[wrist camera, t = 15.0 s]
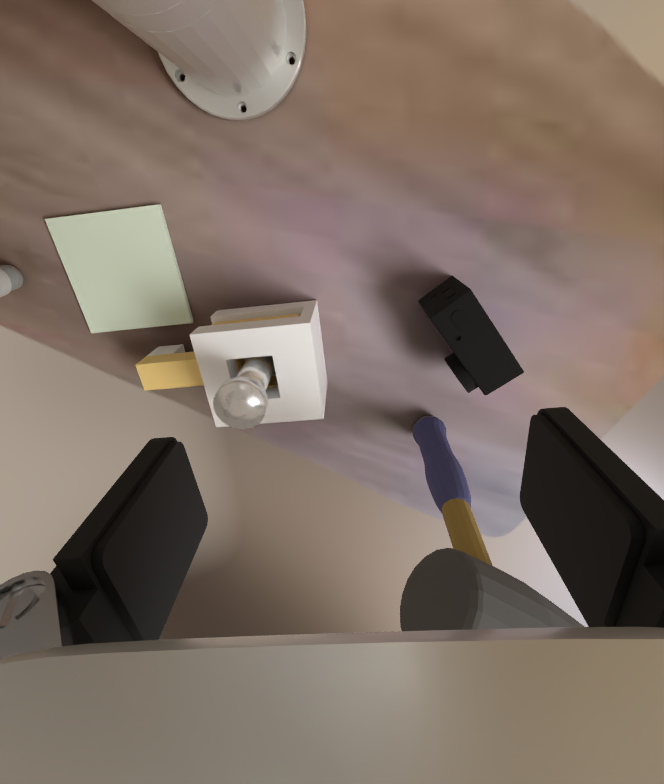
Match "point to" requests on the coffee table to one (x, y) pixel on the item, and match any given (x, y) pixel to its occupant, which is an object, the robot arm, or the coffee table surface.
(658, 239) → the coffee table surface
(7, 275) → the lightbulb
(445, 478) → the rubber mallet
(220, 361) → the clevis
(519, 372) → the digital camera
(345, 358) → the coffee table surface
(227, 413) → the steel pin
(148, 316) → the pin mat
